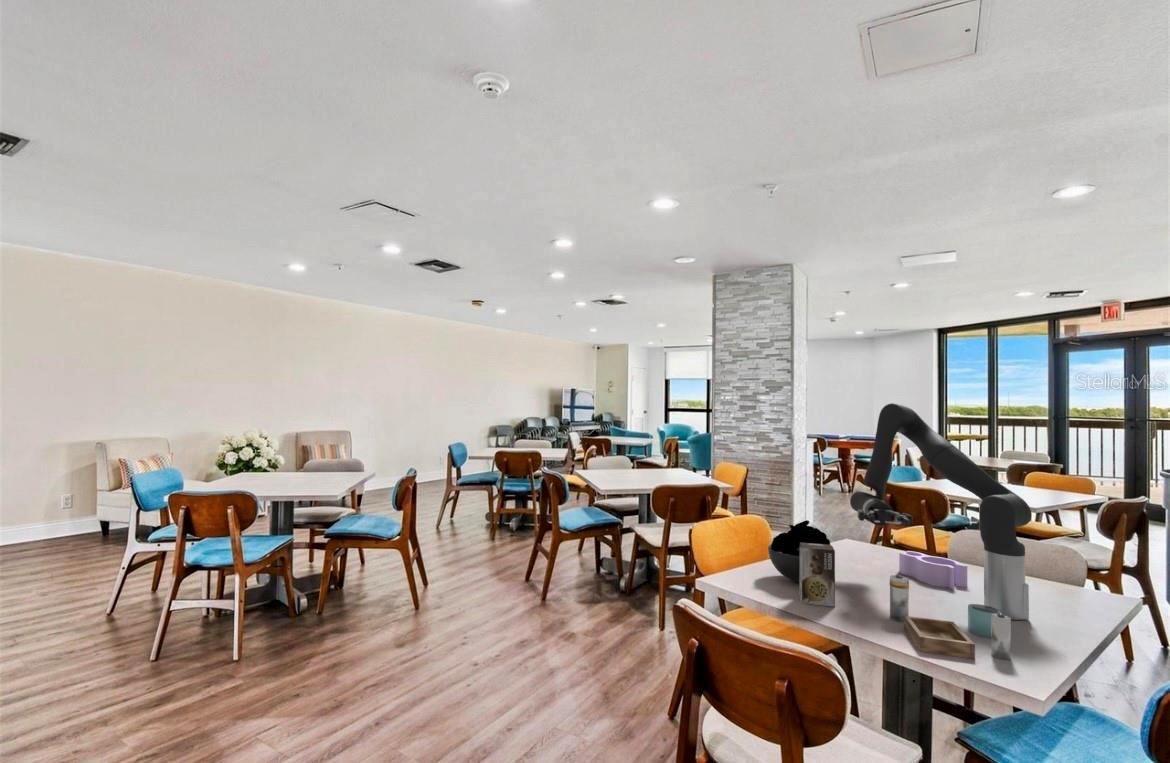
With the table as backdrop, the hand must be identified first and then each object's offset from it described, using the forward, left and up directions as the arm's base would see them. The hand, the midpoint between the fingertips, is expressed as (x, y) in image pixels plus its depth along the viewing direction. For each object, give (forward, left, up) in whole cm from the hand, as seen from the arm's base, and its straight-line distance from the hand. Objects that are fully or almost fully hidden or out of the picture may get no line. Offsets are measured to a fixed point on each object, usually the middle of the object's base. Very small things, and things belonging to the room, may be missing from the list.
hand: (889, 521), depth 159 cm
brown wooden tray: (-5, +25, -24) cm, 35 cm away
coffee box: (+20, +5, -24) cm, 32 cm away
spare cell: (-17, +28, -24) cm, 41 cm away
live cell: (0, +11, -24) cm, 26 cm away
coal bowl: (+23, -14, -24) cm, 36 cm away
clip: (-20, -35, -24) cm, 47 cm away
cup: (-19, +13, -24) cm, 33 cm away
